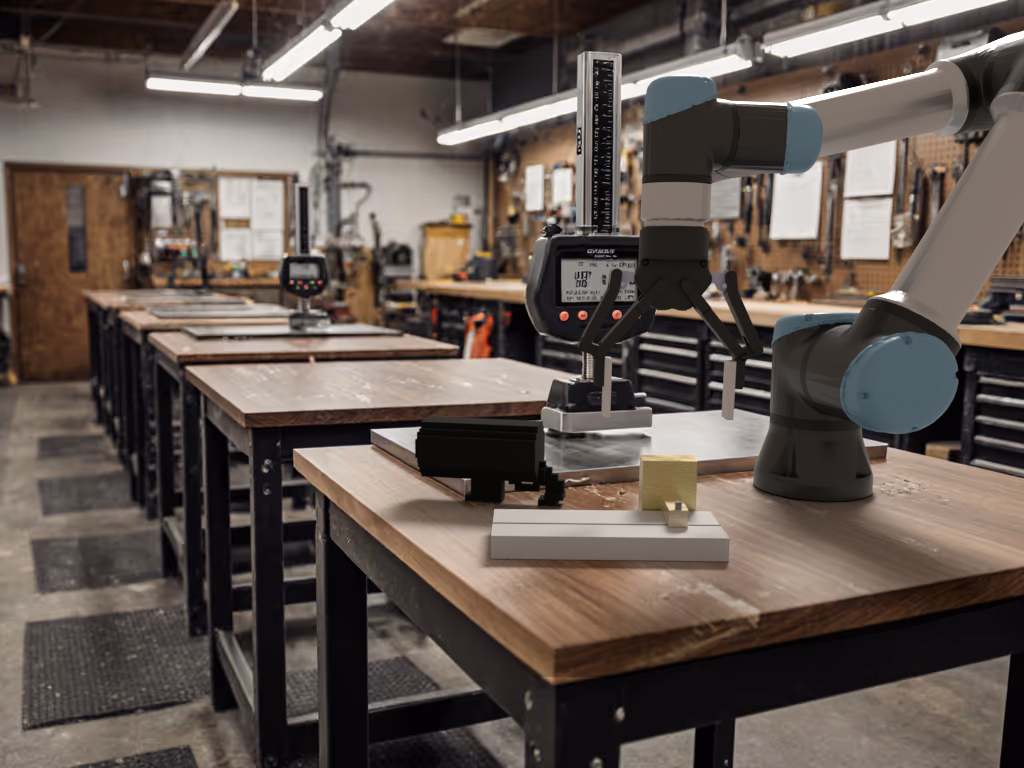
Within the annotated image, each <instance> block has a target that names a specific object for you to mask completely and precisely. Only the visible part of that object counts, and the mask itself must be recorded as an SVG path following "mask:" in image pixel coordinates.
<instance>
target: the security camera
mask: <svg viewBox="0 0 1024 768" xmlns="http://www.w3.org/2000/svg"><path fill="white" fill-rule="evenodd" d="M545 437H546V431H545V427H544V420H527V419H526V420H525V419H499V418H498V419H497V418H477V417H476V418H475V417H474V418H473V417H456V416H455V417H451V416H430V415H429V416H427V418H425V419H423V420H421V421H420V427H419V428H418V431H417V432H416V438H415V439H414V446H415V448H414V455H415V456H414V457H415V459H416V463H417V468H419V470H418V471H419V472H420V476H421V477H427V478H429V477H430V478H441V479H442V478H444V479H445V478H449V479H461V480H463V479H464V480H466V479H467V480H470V490H468V491H467V492H466V494H465V495H464V502H468V503H469V502H470V503H487V504H489V503H490V504H502V503H503V502H504V501H505V499H506V482H508V483H507V484H508V485H514V491H515V492H516V491H518V492H531V493H532V492H536V493H539V492H540V491H541V487H544V493H543V494H540V496H539V497H538V498H537V506H539V507H551V508H552V507H553V508H554V507H556V508H557V507H558V505H559V504H560V502H563V501H564V499H565V498H566V489H565V488H566V486H565V485H566V479H564V478H563V479H560V478H559V477H560V473H559V472H553V470H554V469H553V466H548V464H547V459H545V447H546V445H545V440H546V439H545Z"/></svg>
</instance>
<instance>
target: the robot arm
mask: <svg viewBox="0 0 1024 768" xmlns="http://www.w3.org/2000/svg"><path fill="white" fill-rule="evenodd" d="M643 109H644V110H643V120H642V121H641V123H642V125H641V126H642V129H643V130H642V174H641V176H642V177H641V196H640V197H641V201H640V218H639V219H640V220H641V221H642V222H645V226H642V227H641V229H639V236H638V237H639V241H638V262H637V263H638V264H637V268H636V269H635V271H629V270H621V269H620V268H617V267H615V268H612V269H610V270H609V274H608V280H607V281H608V282H607V287H606V289H605V291H604V293H603V296H602V297H601V299H600V300H599V303H598V304H597V306H596V308H595V310H594V312H593V314H592V316H591V317H590V319H589V322H588V323H587V325H586V327H585V329H584V330H583V332H582V335H580V338H579V340H578V342H577V347H578V349H579V351H580V352H583V353H586V354H587V355H588V354H589V355H590V356H592V359H593V365H592V381H593V384H594V387H602V388H601V389H602V391H601V392H602V393H601V415H602V417H603V418H611V404H612V402H611V401H612V399H611V398H612V374H613V373H612V371H613V359H612V357H611V356H606V355H607V354H608V353H609V352H610V351H611V350H612V349H613V347H614V346H616V344H617V343H618V342H619V341H620V340H621V339H622V338H623V337H624V335H625V334H626V333H627V332H628V331H629V330H630V328H632V327H633V326H634V324H635V323H636V322H637V321H638V320H639V318H641V317H642V315H643V314H645V313H646V312H647V311H648V310H649V308H652V309H655V310H657V311H668V310H676V311H681V312H686V311H688V310H691V309H692V308H693V309H694V311H695V312H696V313H697V314H698V315H699V317H700V318H701V319H702V320H703V321H704V323H705V324H706V326H707V327H708V328H709V329H710V330H711V332H712V333H713V334H714V335H715V337H716V339H718V340H719V341H720V343H721V344H722V345H723V347H724V348H725V349H726V351H727V352H728V353H729V355H730V356H731V358H724V359H723V361H724V362H723V380H722V381H723V382H722V383H723V384H722V399H721V417H722V418H723V419H724V420H726V421H734V417H735V416H734V414H735V413H734V412H735V397H736V396H735V395H736V390H743V388H744V386H745V379H746V363H747V360H748V359H750V358H753V357H756V356H761V355H762V354H763V353H764V349H765V348H764V347H763V345H762V342H761V340H760V337H759V336H758V332H757V331H756V328H755V326H754V324H753V322H752V319H751V317H750V315H749V313H748V311H747V308H746V305H745V304H744V301H743V299H742V297H741V295H740V293H739V284H738V275H737V273H736V271H734V270H729V269H728V270H723V272H722V271H721V272H712V273H711V271H710V269H709V247H710V246H709V245H710V244H709V243H710V230H709V229H708V227H705V223H708V222H710V220H711V206H712V205H711V201H712V184H714V183H717V182H721V181H727V180H731V179H737V178H743V177H749V176H756V175H761V174H762V175H763V174H776V175H777V174H779V175H781V176H784V175H788V174H794V175H795V174H797V175H799V174H803V173H806V172H808V171H810V170H811V168H813V167H814V165H815V164H816V163H817V160H818V158H823V157H828V156H831V155H832V156H833V155H837V154H842V153H845V152H846V153H847V152H850V151H855V150H859V149H863V148H868V147H873V146H876V145H881V144H885V143H889V142H894V141H898V140H902V139H906V138H911V137H915V136H920V135H924V134H928V133H933V134H934V135H936V136H938V137H943V138H946V137H951V136H955V135H960V134H965V133H967V134H968V133H974V132H975V133H976V132H985V131H988V133H987V134H986V136H985V137H984V139H983V140H982V143H981V144H980V146H979V147H978V149H977V150H976V152H975V154H973V156H972V158H971V160H970V162H968V164H967V167H966V168H965V170H964V171H963V173H961V176H960V178H959V179H958V180H957V182H956V184H955V185H954V187H953V188H952V190H951V192H950V194H949V195H948V196H947V198H946V200H945V201H944V202H943V204H942V206H941V208H940V209H939V211H938V213H937V214H936V215H935V217H934V218H933V220H932V222H931V223H930V225H929V226H928V228H927V230H926V231H925V233H924V235H923V236H922V238H921V239H920V241H919V243H918V244H917V246H916V247H915V248H914V251H913V252H912V254H911V255H910V257H909V259H908V260H907V262H906V264H904V266H903V268H902V270H901V271H900V272H899V274H898V276H897V278H896V279H895V281H894V283H893V284H892V285H891V287H890V289H889V290H888V291H886V292H885V293H883V294H879V295H874V296H871V297H869V298H868V299H867V300H866V301H865V303H864V305H863V307H862V308H861V310H860V311H859V312H850V311H849V312H847V311H846V312H841V311H840V312H838V311H837V312H816V313H815V312H814V313H797V314H790V315H784V316H780V318H779V319H777V320H776V323H775V324H774V328H773V335H772V340H771V344H770V345H771V346H770V347H771V349H772V352H771V373H770V374H771V375H770V378H771V379H770V397H769V399H770V401H769V422H768V423H769V425H768V430H767V432H766V435H765V437H764V439H763V443H762V445H761V448H760V451H759V453H758V456H757V459H756V461H755V463H754V467H753V478H752V479H753V483H752V484H753V486H755V487H756V488H758V489H759V490H762V491H764V492H766V493H769V494H773V495H776V496H782V497H786V498H792V499H799V500H809V501H822V502H828V501H829V502H835V501H836V502H837V501H838V502H839V501H840V502H844V501H854V500H859V499H860V500H861V499H864V498H867V497H869V496H871V495H872V494H873V493H874V492H873V489H874V474H873V470H872V466H871V463H870V462H871V461H870V458H869V455H868V453H867V452H868V451H867V449H866V445H865V442H864V438H863V429H864V430H868V431H872V432H877V433H886V434H887V433H888V434H893V435H904V434H911V433H913V432H917V431H920V430H922V429H925V428H927V427H929V426H930V425H931V424H933V423H935V422H936V421H937V420H938V419H939V418H940V417H941V416H942V415H943V414H945V412H946V411H947V410H948V409H949V407H950V405H951V403H952V402H953V400H954V398H955V396H956V392H957V390H958V386H959V379H958V377H957V375H956V374H957V372H958V371H959V368H958V367H959V366H958V363H957V360H956V357H957V355H958V353H959V351H960V350H961V348H962V340H961V337H960V335H959V332H958V327H959V325H960V324H961V322H962V321H963V319H964V317H966V314H967V313H968V311H969V310H970V308H971V307H972V305H973V303H974V302H975V300H976V298H977V297H978V296H979V293H980V292H981V291H982V289H983V288H984V285H985V284H986V282H987V281H988V279H990V276H991V275H992V273H993V271H994V270H995V268H996V267H997V265H998V264H999V262H1000V260H1001V259H1002V257H1003V255H1004V254H1005V253H1006V251H1007V250H1008V247H1009V246H1010V244H1011V243H1012V241H1013V240H1014V238H1015V237H1016V235H1017V233H1018V232H1019V230H1020V229H1021V227H1022V226H1023V224H1024V30H1022V31H1017V32H1014V33H1011V34H1008V35H1006V36H1004V37H1002V38H998V39H997V40H994V41H992V42H990V43H989V42H988V43H986V44H985V45H982V46H980V47H977V48H975V49H971V50H969V51H967V52H964V53H961V54H959V55H956V56H952V57H951V56H950V57H948V58H944V59H939V60H935V61H933V62H932V63H930V64H929V65H928V66H927V67H926V68H925V70H924V72H918V73H913V74H910V75H905V76H900V77H896V78H891V79H887V80H882V81H881V80H880V81H878V82H873V83H868V84H865V85H859V86H855V87H850V88H846V89H845V88H844V89H842V90H841V89H840V90H837V91H831V92H828V93H824V94H819V95H815V96H809V97H806V98H801V99H797V100H792V101H786V102H767V101H766V102H765V101H764V102H763V101H742V100H741V101H740V100H729V99H723V98H718V92H717V84H716V81H715V80H714V79H712V78H711V77H708V76H702V75H698V74H673V75H666V76H665V75H664V76H660V77H657V78H656V79H654V80H652V81H651V82H650V83H649V85H648V86H647V89H646V92H645V99H644V108H643ZM631 282H633V283H634V285H635V286H636V287H637V289H638V290H639V292H640V293H641V294H640V295H639V296H638V297H637V299H636V300H635V301H634V302H633V303H632V305H630V307H629V308H628V310H626V312H625V313H624V314H623V315H622V316H621V317H620V318H619V319H618V320H617V322H616V323H615V324H614V325H613V326H612V327H611V328H610V329H609V331H607V333H605V335H604V336H603V337H602V339H600V341H599V342H598V343H594V341H595V339H596V337H597V335H598V334H599V331H600V329H601V328H602V326H603V324H604V322H605V320H606V318H607V316H608V315H609V314H610V311H611V309H612V307H613V306H614V304H615V302H616V300H617V298H618V295H619V293H620V290H625V289H626V288H627V287H628V285H629V283H631ZM712 283H713V285H715V287H716V289H717V290H718V291H720V292H722V293H723V294H722V295H723V297H724V299H725V302H726V304H727V306H728V309H729V310H730V313H731V315H732V317H733V319H734V322H735V324H736V326H737V329H738V331H739V333H740V336H741V338H742V341H743V343H744V345H743V346H742V345H741V344H740V343H739V341H737V339H736V338H735V336H734V335H733V334H732V333H731V331H730V330H729V329H728V328H727V326H726V325H725V324H724V322H723V321H722V320H721V319H720V318H719V317H718V315H717V313H716V312H715V311H714V310H713V309H712V306H711V305H710V304H709V303H708V302H707V301H708V300H706V299H705V298H704V296H703V295H704V294H705V292H706V291H707V289H709V287H710V286H711V284H712Z"/></svg>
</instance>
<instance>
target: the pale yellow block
mask: <svg viewBox="0 0 1024 768" xmlns="http://www.w3.org/2000/svg"><path fill="white" fill-rule="evenodd" d="M638 475H639V477H638V480H639V481H638V510H637V511H661V513H662V515H663V517H664V519H665V521H666V522H667V524H668V526H669V527H688V514H689V511H697V489H698V487H697V486H698V485H697V484H698V460H697V459H696V458H695V456H694V455H692V454H639V474H638Z"/></svg>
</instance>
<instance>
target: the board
mask: <svg viewBox="0 0 1024 768" xmlns="http://www.w3.org/2000/svg"><path fill="white" fill-rule="evenodd" d="M730 540H731V538H730V537H729V535H728V534H727V533H726V530H724V529H723V527H722V525H721V524H720V523H719V521H718V520H717V518H716V517H715V515H714V513H712V511H711V510H710V511H708V510H707V511H703V510H702V511H701V510H699V511H697V510H696V511H689V514H688V527H669V526H668V524H667V522H666V521H665V519H664V517H663V515H662V513H661V511H638V510H619V509H617V510H615V509H614V510H612V509H609V510H607V509H606V510H604V509H603V510H602V509H599V510H598V509H532V508H531V509H530V508H529V509H526V508H525V509H522V508H521V509H520V508H519V509H512V508H511V509H510V508H509V509H507V508H494V509H493V518H492V525H491V533H490V559H491V560H492V559H493V560H495V559H496V560H497V559H498V560H500V559H501V560H507V559H508V560H564V561H565V560H568V561H569V560H570V561H571V560H573V561H574V560H575V561H577V560H578V561H581V560H583V561H587V560H588V561H647V562H648V561H653V562H657V561H661V562H663V561H664V562H729V561H730Z"/></svg>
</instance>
